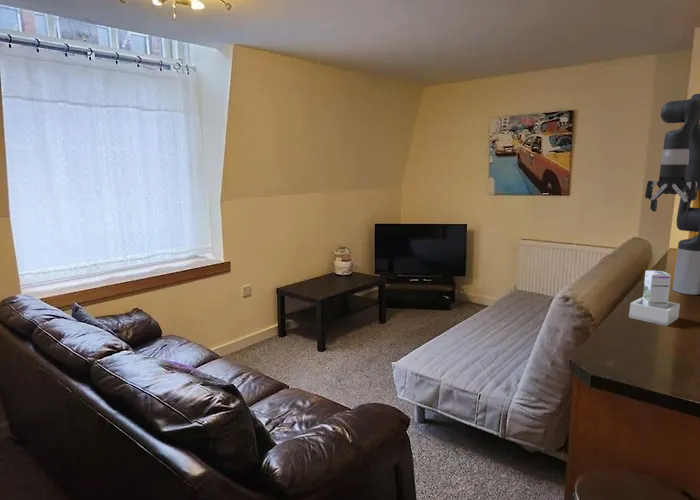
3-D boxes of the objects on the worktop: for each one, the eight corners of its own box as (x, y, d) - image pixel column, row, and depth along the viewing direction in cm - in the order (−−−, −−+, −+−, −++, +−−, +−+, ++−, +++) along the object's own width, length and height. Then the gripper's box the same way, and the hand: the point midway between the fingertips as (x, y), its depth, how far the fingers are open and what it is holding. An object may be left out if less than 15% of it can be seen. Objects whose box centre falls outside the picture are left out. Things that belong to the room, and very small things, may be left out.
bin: (641, 310, 163) (642, 296, 162) (678, 318, 154) (680, 303, 153) (628, 317, 156) (630, 303, 155) (666, 326, 147) (668, 310, 146)
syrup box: (667, 318, 152) (672, 274, 149) (646, 317, 153) (651, 273, 150) (659, 312, 157) (664, 270, 154) (640, 311, 158) (645, 269, 156)
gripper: (703, 163, 151) (697, 213, 154) (653, 163, 162) (648, 209, 165) (696, 163, 147) (690, 215, 150) (646, 163, 157) (640, 211, 160)
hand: (668, 212), depth 157 cm, fingers open, 8 cm apart
